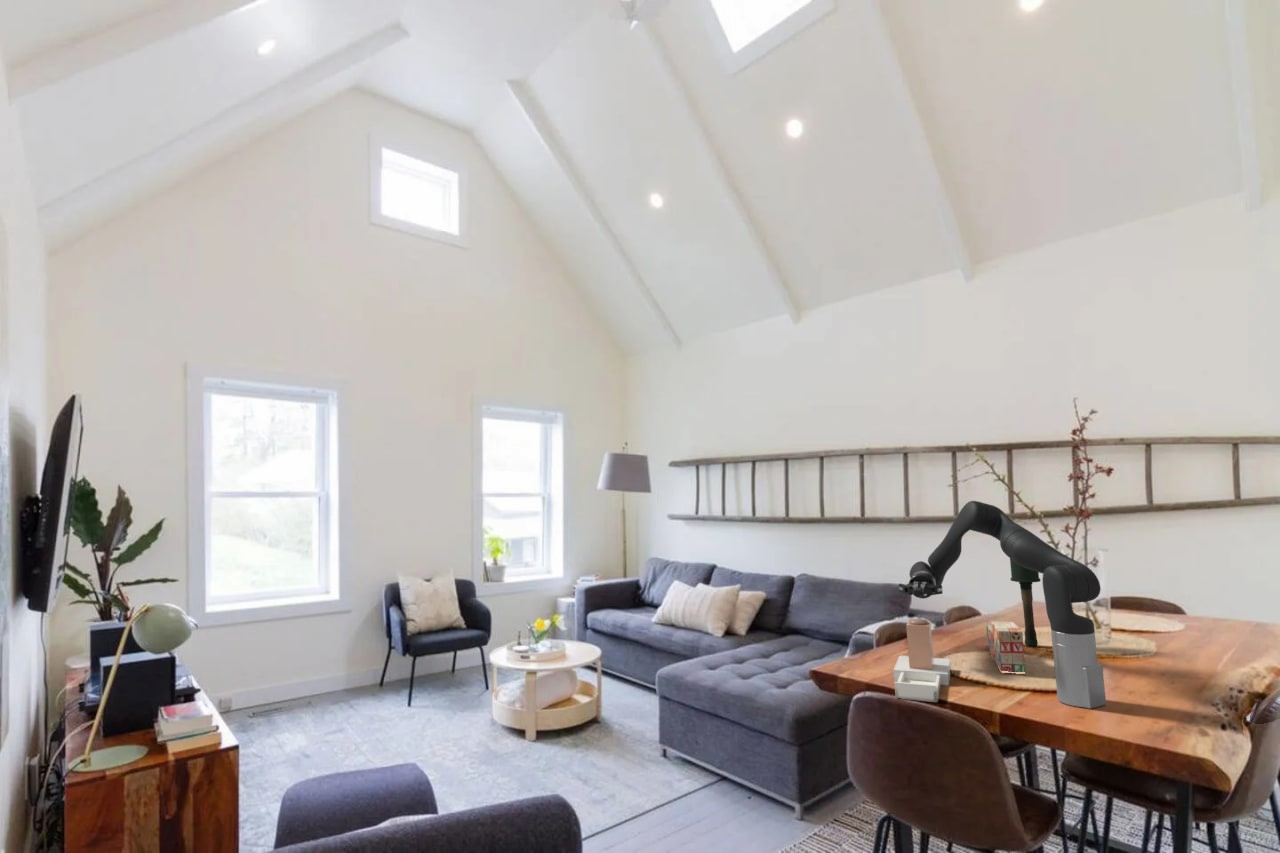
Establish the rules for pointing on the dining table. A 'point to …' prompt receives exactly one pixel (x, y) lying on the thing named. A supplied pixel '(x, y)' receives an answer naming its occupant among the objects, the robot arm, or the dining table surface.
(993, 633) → the stack of blocks
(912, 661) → the tan piece
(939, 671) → the white windowed box
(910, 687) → the tray
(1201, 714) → the dining table surface
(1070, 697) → the robot arm
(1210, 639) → the dining table surface
